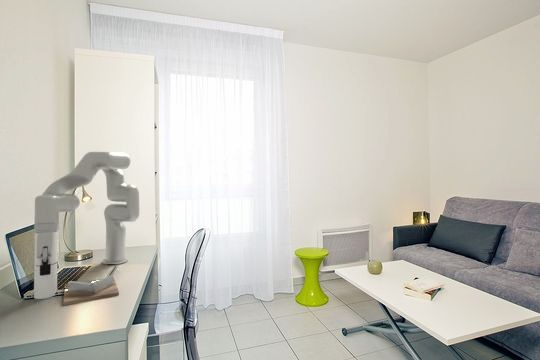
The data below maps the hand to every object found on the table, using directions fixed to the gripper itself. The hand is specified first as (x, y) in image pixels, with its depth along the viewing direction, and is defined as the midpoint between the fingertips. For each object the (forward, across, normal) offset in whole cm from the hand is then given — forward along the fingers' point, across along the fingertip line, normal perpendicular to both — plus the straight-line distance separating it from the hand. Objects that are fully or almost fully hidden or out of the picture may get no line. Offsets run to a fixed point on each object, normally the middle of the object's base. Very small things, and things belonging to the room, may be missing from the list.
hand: (46, 271), depth 113 cm
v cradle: (+9, +4, +15) cm, 18 cm away
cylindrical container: (+10, 0, 0) cm, 10 cm away
